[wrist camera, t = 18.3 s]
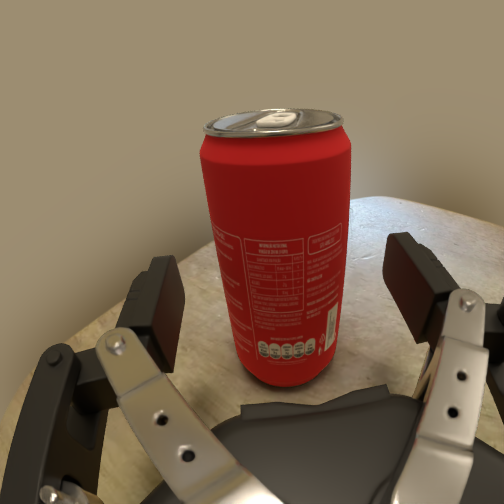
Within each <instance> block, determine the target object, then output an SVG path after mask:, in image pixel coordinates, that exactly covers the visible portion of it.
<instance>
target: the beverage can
mask: <svg viewBox="0 0 504 504" xmlns="http://www.w3.org/2000/svg"><path fill="white" fill-rule="evenodd" d="M343 122H344V121H343V118H342V116H340V115H338V114H336V113H332V112H328V111H322V110H314V109H269V110H259V111H250V112H243V113H237V114H233V115H229V116H225V117H221V118H218V119H215V120H212V121H210V122H208V123H206V124H205V125H204V127H203V131H204V133H205V134H206V136H205V139H204V141H203V144H202V147H201V149H200V159H201V166H202V172H203V178H204V184H205V189H206V195H207V202H208V207H209V212H210V218H211V223H212V230H213V235H214V240H215V246H216V251H217V256H218V262H219V267H220V272H221V277H222V282H223V287H224V293H225V298H226V302H227V307H228V312H229V317H230V322H231V327H232V332H233V336H234V341H235V346H236V350H237V354H238V357H239V359H240V361H241V362H242V364H243V365H244V366H245V367H246V368H247V369H248V370H249V371H250V372H251V373H252V374H253V375H254V376H255V377H256V378H257V379H259V380H260V381H262V382H264V383H266V384H268V385H271V386H275V387H283V388H287V387H296V386H300V385H303V384H305V383H307V382H309V381H311V380H312V379H314V378H315V377H316V376H317V375H318V374H319V373H320V372H321V371H322V369H324V368H325V367H326V366H327V365H328V363H329V362H330V361H331V359H332V357H333V355H334V353H335V349H336V343H337V336H338V329H339V321H340V313H341V305H342V296H343V287H344V277H345V266H346V254H347V241H348V226H349V208H350V182H351V143H350V140H349V138H348V136H347V135H346V133H345V132H344V129H343V127H342V124H343Z"/></svg>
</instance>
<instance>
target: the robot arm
mask: <svg viewBox="0 0 504 504" xmlns="http://www.w3.org/2000/svg"><path fill="white" fill-rule="evenodd" d="M382 271H383V279H384V282H385V284H386V286H387V288H388V289H389V291H390V293H391V295H392V297H393V299H394V301H395V302H396V304H397V306H398V308H399V310H400V312H401V314H402V316H403V318H404V320H405V322H406V324H407V326H408V328H409V330H410V332H411V334H412V336H413V338H414V340H415V342H416V344H419V343H423V342H427V341H428V343H429V345H430V346H429V348H428V351H427V354H426V357H425V360H424V364H423V367H422V370H421V373H420V376H419V379H418V382H417V385H416V388H415V391H414V393H413V395H412V397H409V396H405V395H400V394H390V393H389V390H388V387H387V384H384V385H379V386H375V387H370V388H365V389H360V390H355V391H352V392H349V393H347V394H345V395H342V396H340V397H338V398H335V399H333V400H330V401H328V402H326V403H323V404H320V405H305V404H294V403H284V402H271V403H260V404H247V405H241V415H239V416H235V417H233V418H230V419H228V420H225V421H224V422H222V423H220V424H218V425H217V426H215V427H214V428H212V429H211V430H210V429H209V428H208V427H207V426H206V425H205V424H204V422H203V421H202V420H201V419H200V418H199V416H198V415H197V414H196V413H195V412H194V410H193V409H192V408H191V407H190V405H189V404H188V403H187V402H186V400H185V399H184V398H183V396H182V395H181V394H180V393H179V391H178V390H177V389H176V387H175V386H174V385H173V383H172V382H171V381H170V379H169V378H168V377H167V375H166V374H165V373H173V371H174V365H175V358H176V352H177V346H178V340H179V334H180V328H181V322H182V317H183V311H184V305H185V293H184V287H183V284H182V280H181V277H180V273H179V270H178V266H177V263H176V259H175V257H174V256H173V255H169V256H160V257H154V258H153V259H152V261H151V264H150V267H149V269H148V271H144V272H141V273H140V274H139V275H138V276H137V277H136V278H135V279H134V280H133V283H132V285H131V287H130V290H129V293H128V295H127V298H126V301H125V303H124V305H123V308H122V311H121V313H120V316H119V319H118V321H117V324H116V327H115V328H114V329H112V330H109V331H108V332H106V333H105V334H103V335H102V336H101V337H100V339H99V340H98V342H97V344H96V347H95V348H92V349H88V350H85V351H81V352H77V353H74V351H73V350H72V348H71V347H70V346H69V345H67V344H62V343H61V344H56V345H53V346H51V347H50V348H48V349H47V350H46V351H45V352H44V353H43V354H42V356H41V357H40V360H39V362H38V365H37V367H36V370H35V372H34V375H33V378H32V380H31V383H30V386H29V389H28V392H27V394H26V397H25V400H24V403H23V406H22V409H21V413H20V416H19V419H18V422H17V426H16V429H15V433H14V436H13V440H12V443H11V447H10V451H9V455H8V459H7V464H6V468H5V473H4V478H3V483H2V488H1V493H0V504H104V503H103V501H102V500H101V499H100V498H99V497H98V496H97V487H98V478H99V470H100V462H101V454H102V447H103V441H104V434H105V428H106V422H107V416H108V411H109V409H111V408H115V407H120V409H121V411H122V412H123V414H124V416H125V418H126V420H127V421H128V423H129V425H130V427H131V428H132V430H133V432H134V433H135V435H136V437H137V438H138V440H139V442H140V443H141V445H142V447H143V448H144V450H145V451H146V453H147V455H148V456H149V458H150V459H151V461H152V462H153V464H154V465H155V467H156V468H157V470H158V471H159V473H160V474H161V476H162V477H163V478H164V480H163V481H162V482H161V483H160V484H159V485H158V486H157V487H156V488H155V489H154V490H153V491H152V492H151V493H150V494H149V495H148V496H147V497H146V498H145V499H144V500H143V501H142V502H141V503H140V504H504V454H502V453H501V452H499V451H497V450H496V449H494V448H493V447H491V446H489V445H488V444H486V443H485V442H483V441H482V440H480V439H478V438H477V437H475V434H476V430H477V426H478V421H479V417H480V412H481V407H482V401H483V395H484V389H485V383H487V385H488V387H489V389H490V392H491V394H492V396H493V399H494V401H495V404H496V406H497V409H498V411H499V414H500V416H501V419H502V422H503V424H504V297H503V300H502V302H501V304H488V303H485V302H484V300H483V299H482V298H481V297H480V296H479V295H478V294H477V293H475V292H474V291H472V290H469V289H461V288H460V287H459V286H458V284H457V283H456V282H455V280H454V279H453V278H452V276H451V275H450V274H449V273H448V271H447V270H446V269H445V267H443V265H442V264H441V262H440V261H439V260H437V257H436V256H435V255H434V254H433V252H432V251H431V250H430V249H428V248H427V247H425V246H424V245H422V244H418V243H417V242H416V241H415V240H414V238H413V237H412V236H411V235H410V234H409V233H408V232H402V233H392V234H389V235H388V237H387V243H386V249H385V256H384V262H383V270H382Z"/></svg>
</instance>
